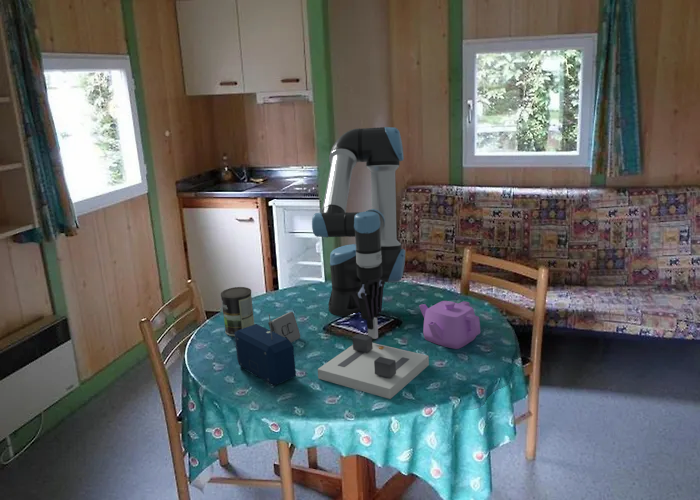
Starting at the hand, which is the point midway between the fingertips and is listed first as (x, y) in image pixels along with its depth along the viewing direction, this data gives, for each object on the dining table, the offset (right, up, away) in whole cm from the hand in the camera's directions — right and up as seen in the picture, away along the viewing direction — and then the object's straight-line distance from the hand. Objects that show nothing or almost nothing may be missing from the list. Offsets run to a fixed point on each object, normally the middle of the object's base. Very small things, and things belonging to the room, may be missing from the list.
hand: (373, 337), depth 194 cm
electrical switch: (-28, -3, +13) cm, 31 cm away
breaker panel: (0, -9, -11) cm, 14 cm away
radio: (-32, -10, -7) cm, 34 cm away
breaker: (+3, -7, -20) cm, 21 cm away
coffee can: (-45, -1, +24) cm, 51 cm away
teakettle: (+24, -2, +8) cm, 25 cm away
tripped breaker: (-3, -3, -4) cm, 6 cm away
